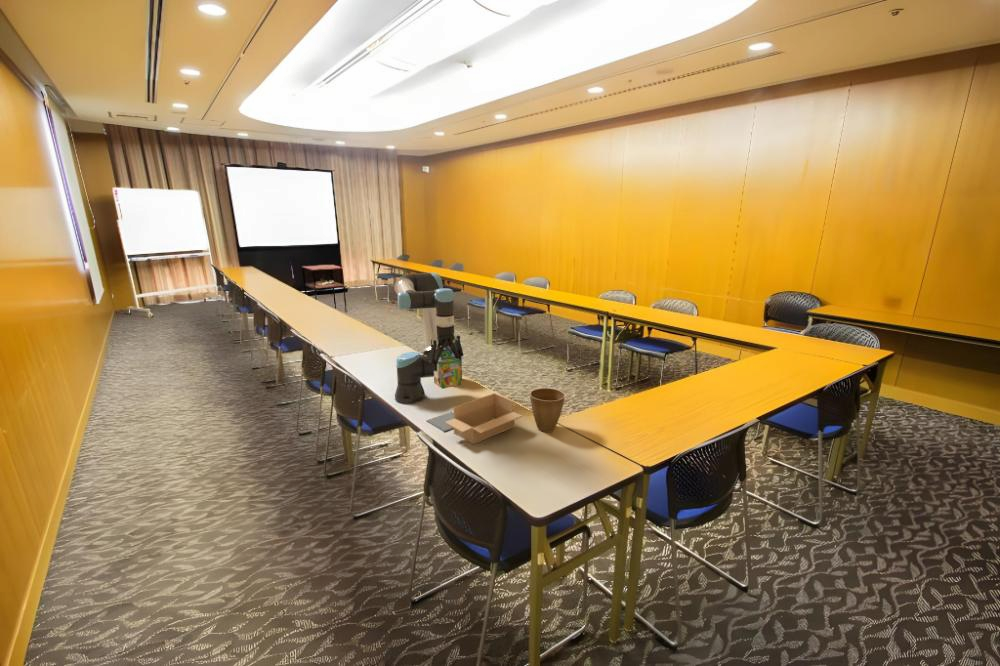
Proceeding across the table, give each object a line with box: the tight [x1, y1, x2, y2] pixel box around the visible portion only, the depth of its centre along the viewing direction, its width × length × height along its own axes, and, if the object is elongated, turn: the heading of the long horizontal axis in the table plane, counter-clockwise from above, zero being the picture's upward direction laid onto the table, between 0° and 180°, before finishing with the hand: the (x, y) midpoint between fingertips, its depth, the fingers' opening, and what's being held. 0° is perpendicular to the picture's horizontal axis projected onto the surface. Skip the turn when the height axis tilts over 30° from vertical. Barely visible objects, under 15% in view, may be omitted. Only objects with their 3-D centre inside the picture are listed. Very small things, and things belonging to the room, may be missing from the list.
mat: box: [426, 411, 454, 433], centre depth 196 cm, size 14×14×1 cm
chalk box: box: [433, 351, 461, 389], centre depth 190 cm, size 9×9×15 cm
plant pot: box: [529, 387, 566, 433], centre depth 188 cm, size 15×15×16 cm
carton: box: [445, 392, 523, 445], centre depth 184 cm, size 18×28×12 cm, turn 132°
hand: (446, 374), depth 191 cm, fingers closed on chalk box, 10 cm apart
